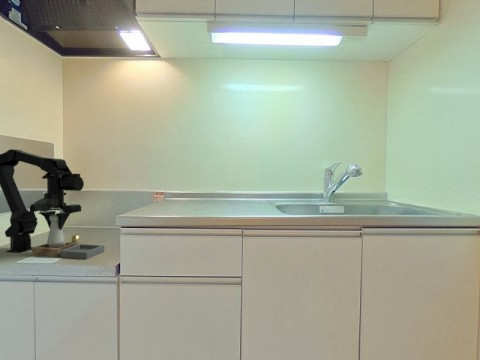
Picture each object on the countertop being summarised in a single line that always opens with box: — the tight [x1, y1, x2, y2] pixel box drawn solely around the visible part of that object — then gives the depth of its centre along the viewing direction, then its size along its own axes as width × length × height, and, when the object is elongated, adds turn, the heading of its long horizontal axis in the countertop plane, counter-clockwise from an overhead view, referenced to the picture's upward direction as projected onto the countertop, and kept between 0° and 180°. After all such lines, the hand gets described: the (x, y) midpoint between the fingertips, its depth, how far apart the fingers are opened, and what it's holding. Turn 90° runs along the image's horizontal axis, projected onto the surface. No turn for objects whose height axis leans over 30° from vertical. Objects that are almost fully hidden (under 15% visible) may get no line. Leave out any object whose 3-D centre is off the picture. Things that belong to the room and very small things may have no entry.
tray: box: [59, 243, 105, 260], centre depth 119 cm, size 11×11×2 cm
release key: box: [62, 234, 80, 246], centre depth 129 cm, size 3×9×4 cm, turn 171°
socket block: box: [31, 241, 78, 258], centre depth 121 cm, size 11×11×3 cm
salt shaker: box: [46, 213, 65, 248], centre depth 121 cm, size 6×6×13 cm
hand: (55, 229), depth 121 cm, fingers closed on salt shaker, 3 cm apart
